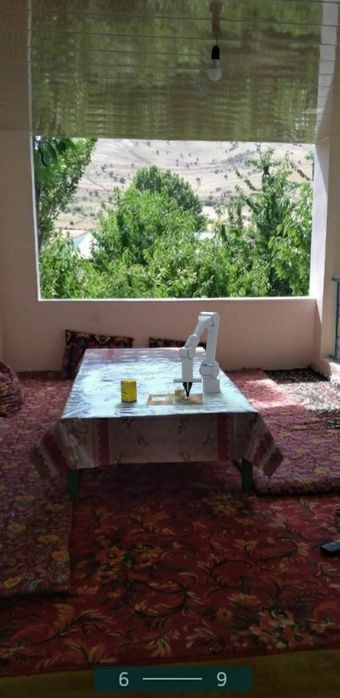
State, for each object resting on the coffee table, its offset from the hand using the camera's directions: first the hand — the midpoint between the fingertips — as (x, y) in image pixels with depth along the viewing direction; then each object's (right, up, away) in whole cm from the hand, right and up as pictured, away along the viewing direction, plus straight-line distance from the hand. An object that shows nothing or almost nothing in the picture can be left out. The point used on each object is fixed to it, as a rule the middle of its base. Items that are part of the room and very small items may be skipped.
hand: (187, 396), depth 268 cm
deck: (-7, -3, -1) cm, 7 cm away
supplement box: (-30, -3, +3) cm, 31 cm away
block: (-4, -1, 0) cm, 4 cm away
